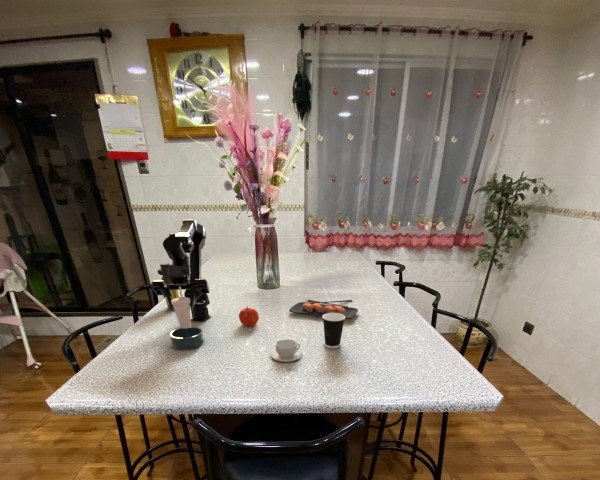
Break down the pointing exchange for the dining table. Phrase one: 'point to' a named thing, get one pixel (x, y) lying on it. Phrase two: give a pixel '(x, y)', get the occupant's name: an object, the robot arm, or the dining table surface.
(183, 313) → the smoothie
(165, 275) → the sauce bottle
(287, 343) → the teacup
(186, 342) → the bowl
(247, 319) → the apple
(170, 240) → the robot arm
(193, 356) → the dining table surface
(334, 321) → the dixie cup
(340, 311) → the sushi plate
